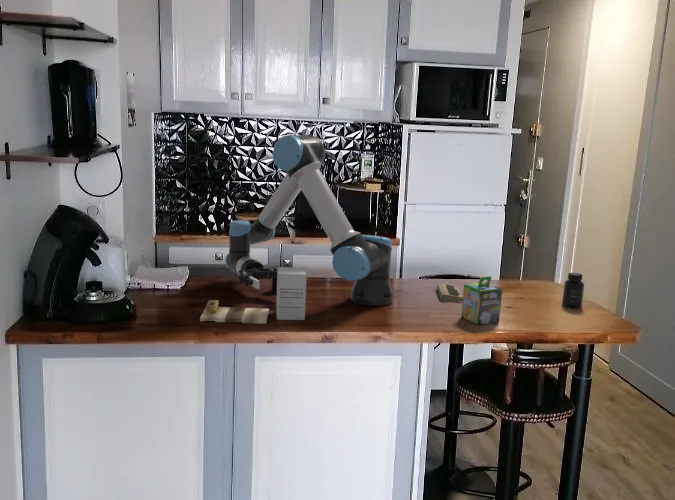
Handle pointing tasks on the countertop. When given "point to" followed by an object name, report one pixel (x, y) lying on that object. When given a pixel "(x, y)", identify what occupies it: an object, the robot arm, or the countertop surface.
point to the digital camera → (274, 285)
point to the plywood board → (233, 314)
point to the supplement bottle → (573, 291)
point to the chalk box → (481, 302)
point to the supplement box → (291, 293)
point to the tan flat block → (449, 293)
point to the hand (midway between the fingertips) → (277, 283)
